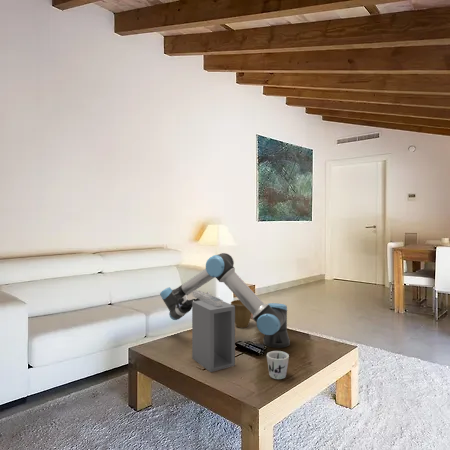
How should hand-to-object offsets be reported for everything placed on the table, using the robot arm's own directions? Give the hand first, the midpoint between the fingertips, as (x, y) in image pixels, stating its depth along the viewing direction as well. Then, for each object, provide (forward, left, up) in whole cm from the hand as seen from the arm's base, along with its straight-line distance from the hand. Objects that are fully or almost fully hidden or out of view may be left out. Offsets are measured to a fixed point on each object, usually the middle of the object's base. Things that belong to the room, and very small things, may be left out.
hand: (198, 295), depth 204 cm
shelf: (-15, +4, -31) cm, 35 cm away
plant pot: (+12, -50, -31) cm, 60 cm away
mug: (-47, -8, -31) cm, 57 cm away
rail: (-9, +2, -1) cm, 9 cm away
